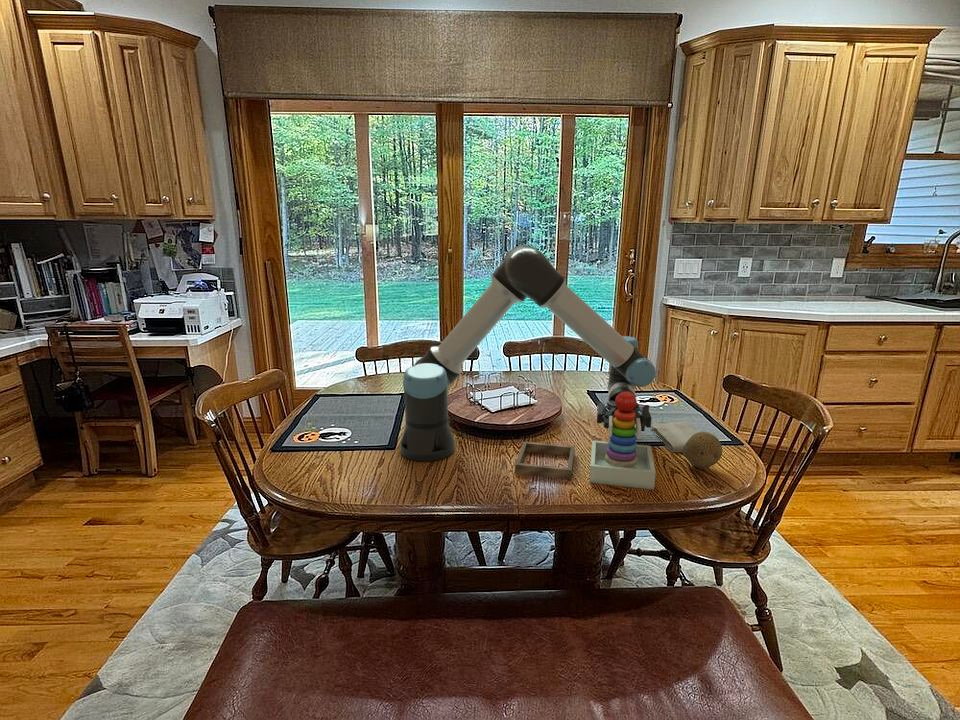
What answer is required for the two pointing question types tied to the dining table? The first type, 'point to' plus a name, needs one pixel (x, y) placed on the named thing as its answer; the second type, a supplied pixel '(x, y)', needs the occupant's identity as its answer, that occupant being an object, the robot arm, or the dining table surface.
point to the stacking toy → (623, 433)
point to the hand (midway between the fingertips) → (624, 432)
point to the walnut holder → (540, 469)
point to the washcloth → (673, 434)
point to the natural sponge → (703, 450)
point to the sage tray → (622, 468)
